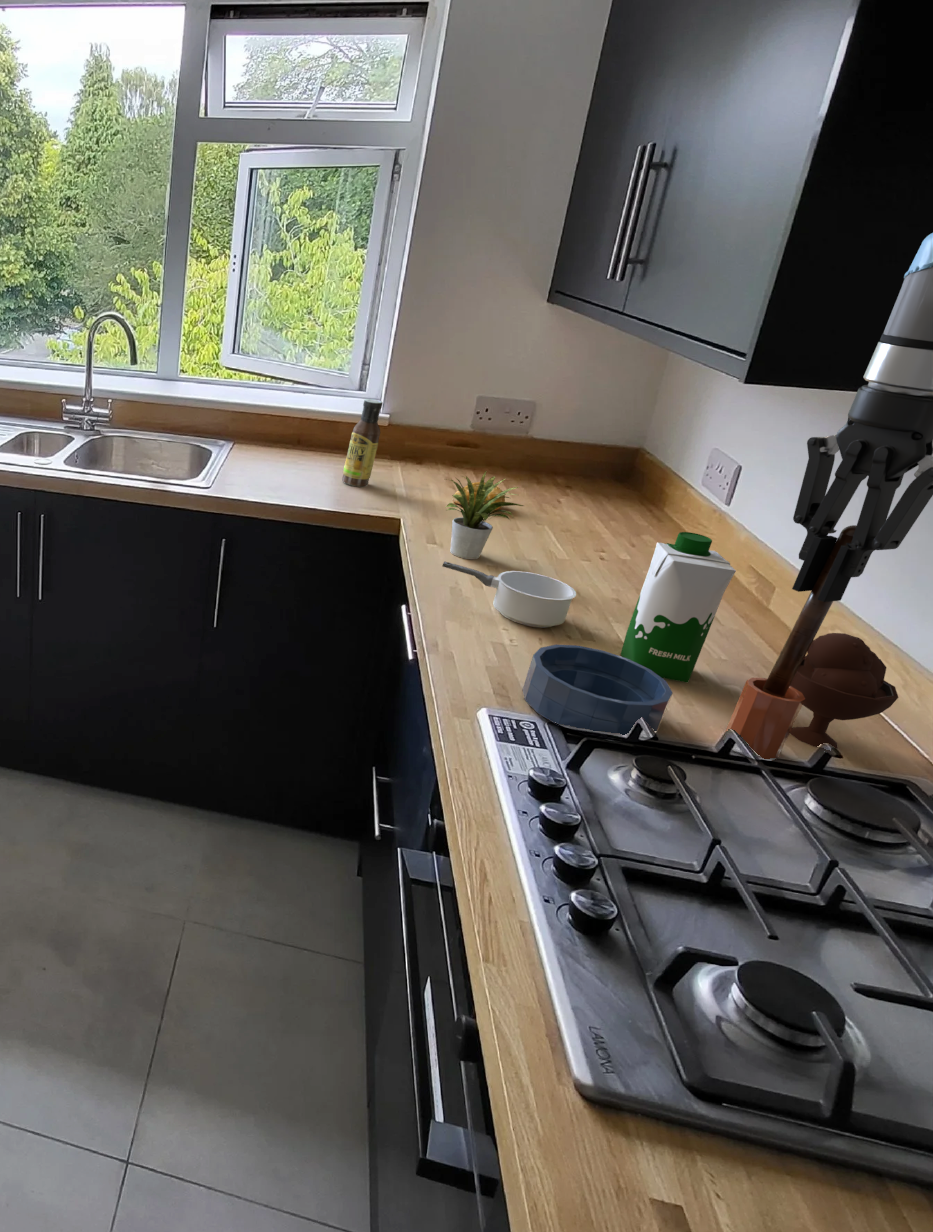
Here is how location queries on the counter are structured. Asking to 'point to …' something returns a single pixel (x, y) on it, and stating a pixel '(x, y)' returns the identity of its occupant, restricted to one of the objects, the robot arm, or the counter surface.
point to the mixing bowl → (594, 689)
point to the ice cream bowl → (840, 685)
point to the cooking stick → (804, 627)
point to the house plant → (475, 518)
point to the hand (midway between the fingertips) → (816, 594)
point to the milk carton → (677, 606)
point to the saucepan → (526, 596)
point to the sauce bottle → (363, 446)
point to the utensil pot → (765, 717)
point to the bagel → (475, 486)
